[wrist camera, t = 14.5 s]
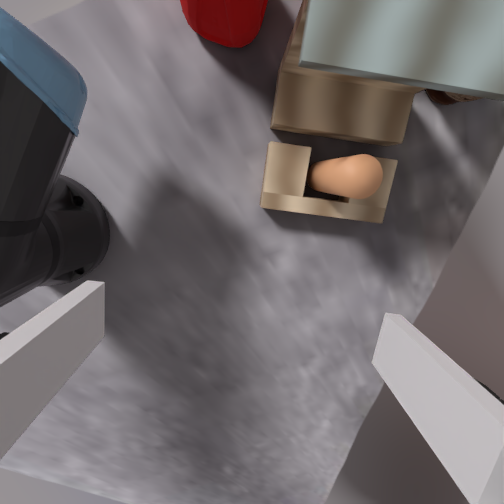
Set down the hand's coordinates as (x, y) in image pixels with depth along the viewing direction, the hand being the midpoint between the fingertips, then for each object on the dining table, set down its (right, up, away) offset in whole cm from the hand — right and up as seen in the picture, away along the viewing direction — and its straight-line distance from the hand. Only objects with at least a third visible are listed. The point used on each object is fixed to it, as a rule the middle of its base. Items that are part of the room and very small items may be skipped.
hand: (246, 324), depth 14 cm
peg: (+10, +14, +26) cm, 31 cm away
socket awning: (+10, +18, +25) cm, 33 cm away
